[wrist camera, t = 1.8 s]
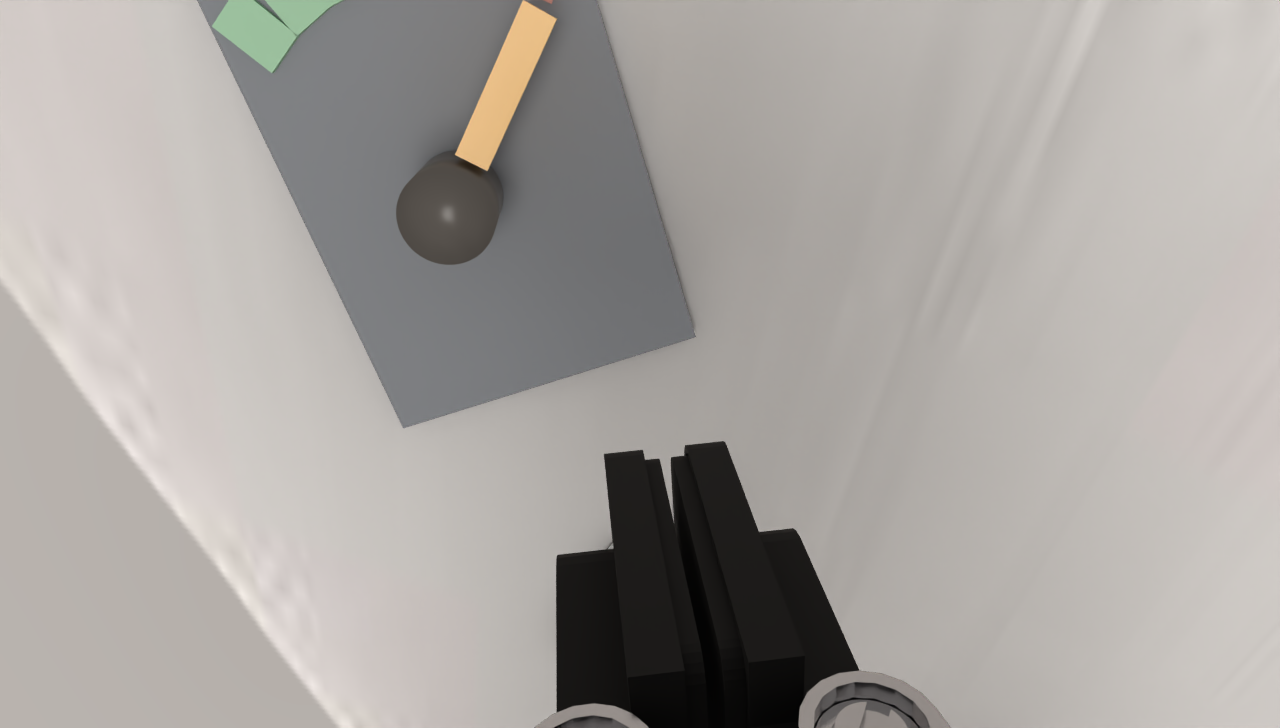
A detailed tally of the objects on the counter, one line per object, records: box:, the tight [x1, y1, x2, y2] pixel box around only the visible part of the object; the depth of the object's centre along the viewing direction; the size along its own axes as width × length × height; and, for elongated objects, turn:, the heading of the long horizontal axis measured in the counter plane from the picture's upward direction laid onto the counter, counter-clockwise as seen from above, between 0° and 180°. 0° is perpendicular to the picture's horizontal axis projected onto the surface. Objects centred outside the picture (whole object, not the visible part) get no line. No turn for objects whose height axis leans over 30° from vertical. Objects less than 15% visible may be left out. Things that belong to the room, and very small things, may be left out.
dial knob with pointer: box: [396, 0, 557, 265], centre depth 29 cm, size 9×3×4 cm, turn 152°
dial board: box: [197, 0, 696, 428], centre depth 32 cm, size 20×14×1 cm
